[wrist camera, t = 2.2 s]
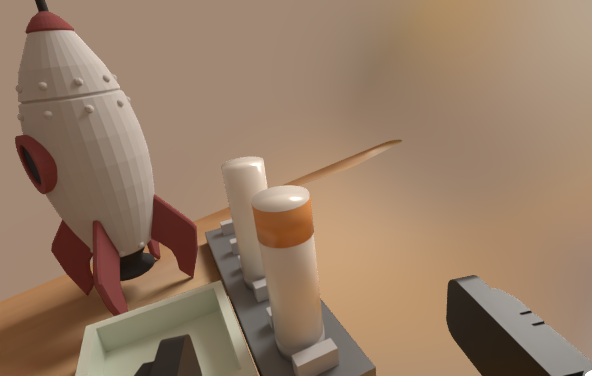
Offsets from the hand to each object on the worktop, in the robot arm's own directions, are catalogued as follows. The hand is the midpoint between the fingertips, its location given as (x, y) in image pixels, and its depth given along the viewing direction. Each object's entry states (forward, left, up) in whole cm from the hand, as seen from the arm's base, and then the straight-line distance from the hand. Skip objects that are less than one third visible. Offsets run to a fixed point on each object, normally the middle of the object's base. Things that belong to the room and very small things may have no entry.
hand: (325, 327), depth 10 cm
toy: (-9, +28, -14) cm, 33 cm away
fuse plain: (+3, +20, -12) cm, 24 cm away
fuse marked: (+3, +11, -12) cm, 17 cm away
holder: (+3, +20, -14) cm, 24 cm away
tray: (-7, +14, -14) cm, 21 cm away
